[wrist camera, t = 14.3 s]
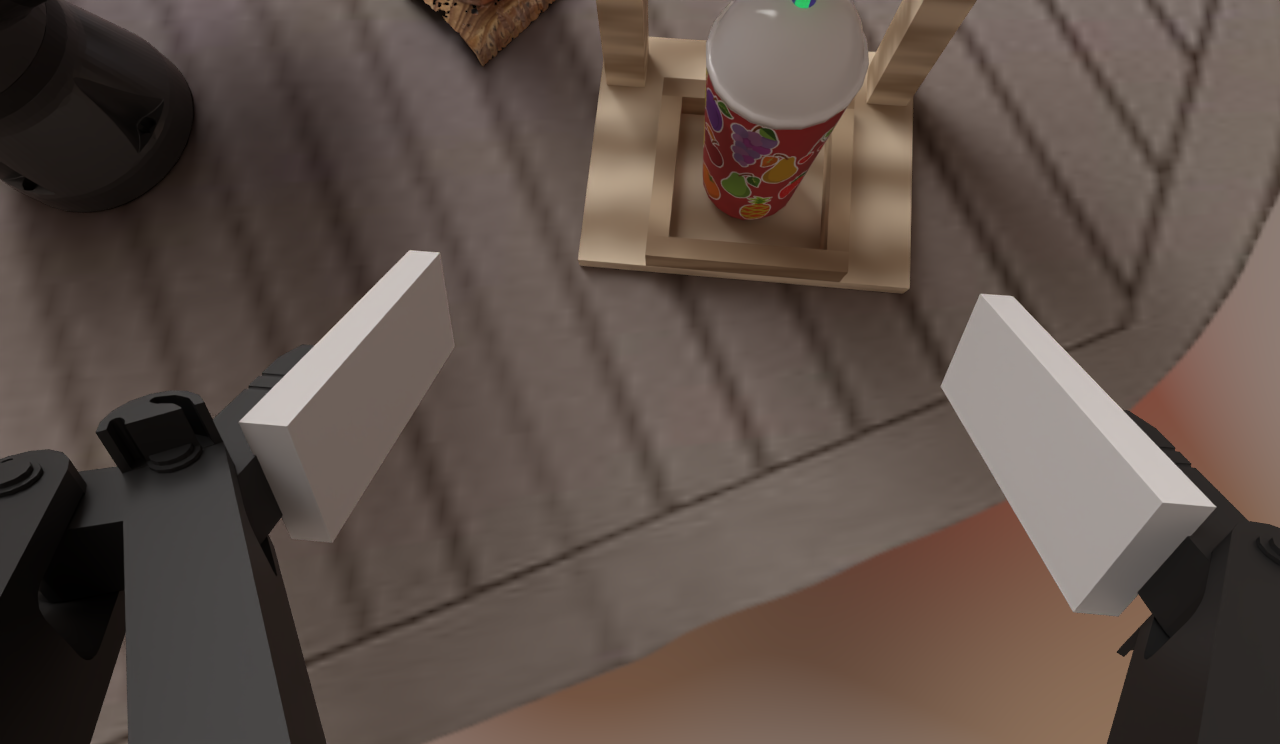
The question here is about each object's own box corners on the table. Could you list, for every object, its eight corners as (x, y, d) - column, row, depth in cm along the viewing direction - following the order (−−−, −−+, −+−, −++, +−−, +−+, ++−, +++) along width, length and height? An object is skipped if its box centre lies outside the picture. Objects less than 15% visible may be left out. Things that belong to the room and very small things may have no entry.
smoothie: (815, 151, 44) (943, -117, 24) (786, 251, 43) (898, 53, 23) (708, 122, 45) (749, -160, 25) (676, 220, 43) (693, 2, 24)
